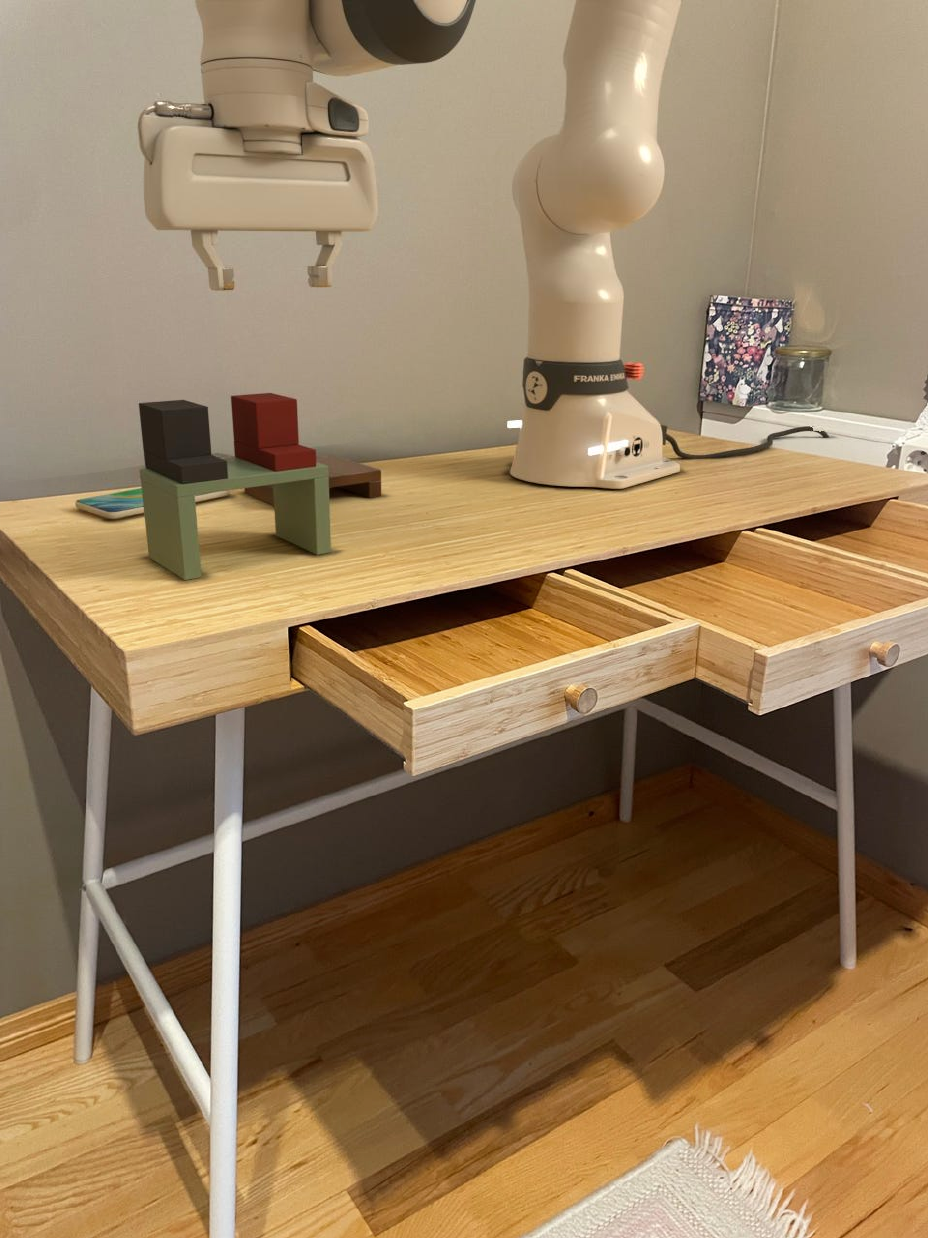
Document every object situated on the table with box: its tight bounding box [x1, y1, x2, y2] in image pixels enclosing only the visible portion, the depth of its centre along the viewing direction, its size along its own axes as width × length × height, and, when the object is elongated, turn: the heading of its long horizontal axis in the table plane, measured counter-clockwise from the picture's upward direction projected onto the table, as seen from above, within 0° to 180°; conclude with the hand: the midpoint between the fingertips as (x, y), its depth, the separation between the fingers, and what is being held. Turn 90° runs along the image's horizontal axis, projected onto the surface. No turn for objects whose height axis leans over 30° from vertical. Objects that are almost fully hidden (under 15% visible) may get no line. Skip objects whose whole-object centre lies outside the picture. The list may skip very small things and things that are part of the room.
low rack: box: [243, 455, 382, 506], centre depth 109 cm, size 12×10×3 cm
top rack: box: [139, 456, 332, 581], centre depth 86 cm, size 14×8×8 cm, turn 128°
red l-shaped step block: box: [230, 392, 317, 472], centre depth 86 cm, size 4×8×6 cm, turn 38°
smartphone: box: [74, 487, 230, 520], centre depth 104 cm, size 7×1×15 cm
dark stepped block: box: [138, 399, 228, 484], centre depth 81 cm, size 4×8×6 cm, turn 38°
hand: (273, 288), depth 84 cm, fingers open, 8 cm apart
